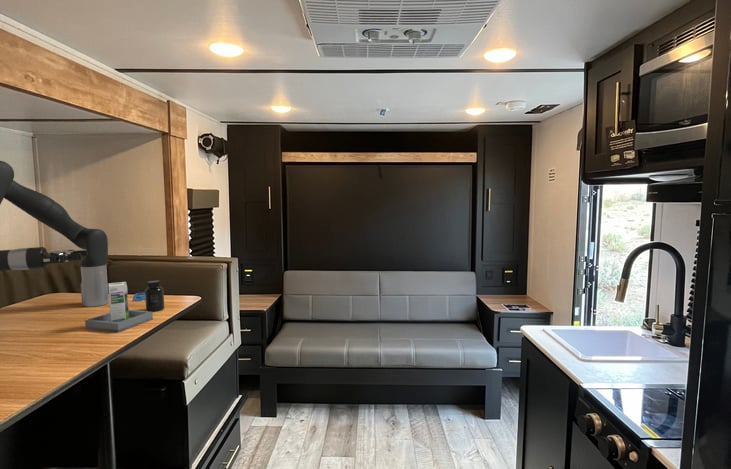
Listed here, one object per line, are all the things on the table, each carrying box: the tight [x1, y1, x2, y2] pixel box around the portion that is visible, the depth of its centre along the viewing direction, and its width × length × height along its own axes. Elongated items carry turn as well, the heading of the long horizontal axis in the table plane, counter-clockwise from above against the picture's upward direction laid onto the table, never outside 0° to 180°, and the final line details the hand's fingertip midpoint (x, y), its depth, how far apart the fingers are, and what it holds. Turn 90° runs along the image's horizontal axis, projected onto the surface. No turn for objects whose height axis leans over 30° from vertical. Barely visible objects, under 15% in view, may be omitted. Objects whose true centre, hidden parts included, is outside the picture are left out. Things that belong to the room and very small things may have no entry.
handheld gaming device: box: [133, 292, 145, 302], centre depth 186 cm, size 8×1×15 cm
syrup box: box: [108, 281, 130, 323], centre depth 146 cm, size 6×6×14 cm
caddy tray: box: [84, 309, 154, 333], centre depth 146 cm, size 15×15×3 cm
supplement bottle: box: [144, 280, 165, 313], centre depth 164 cm, size 7×7×12 cm
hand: (84, 254), depth 144 cm, fingers open, 8 cm apart
